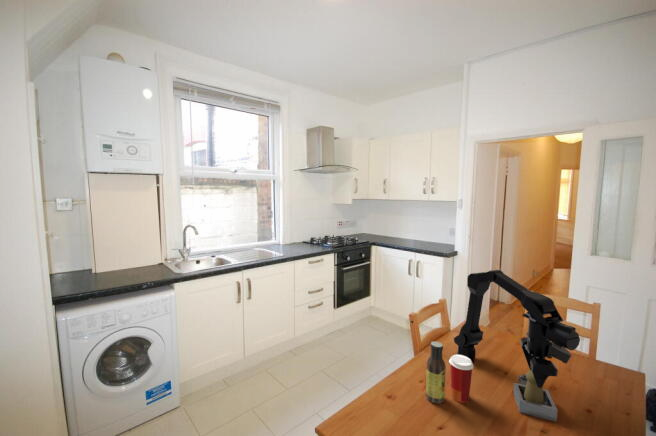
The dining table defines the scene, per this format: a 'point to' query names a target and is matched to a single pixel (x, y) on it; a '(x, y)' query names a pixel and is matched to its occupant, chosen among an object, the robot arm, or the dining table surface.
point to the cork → (533, 390)
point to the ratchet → (532, 408)
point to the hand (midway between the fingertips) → (535, 379)
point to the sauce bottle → (435, 374)
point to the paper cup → (460, 377)
